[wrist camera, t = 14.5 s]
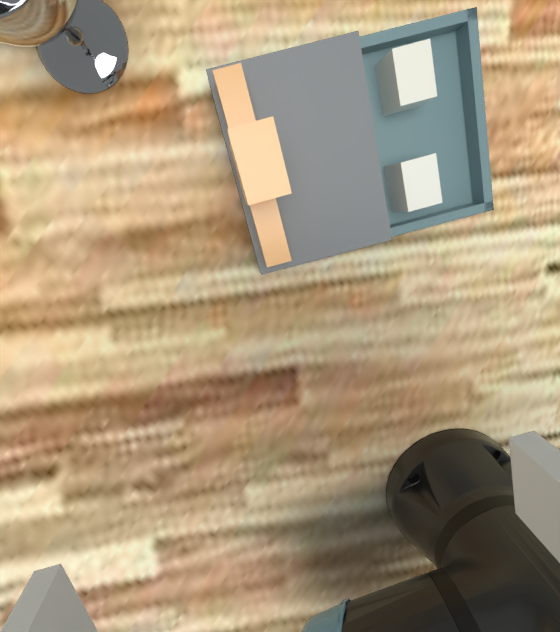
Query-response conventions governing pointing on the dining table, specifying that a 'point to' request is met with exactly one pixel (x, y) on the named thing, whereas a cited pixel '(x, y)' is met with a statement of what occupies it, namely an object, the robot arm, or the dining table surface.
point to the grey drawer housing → (318, 147)
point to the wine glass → (69, 39)
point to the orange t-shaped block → (255, 162)
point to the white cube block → (413, 183)
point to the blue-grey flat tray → (437, 119)
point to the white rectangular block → (406, 77)
